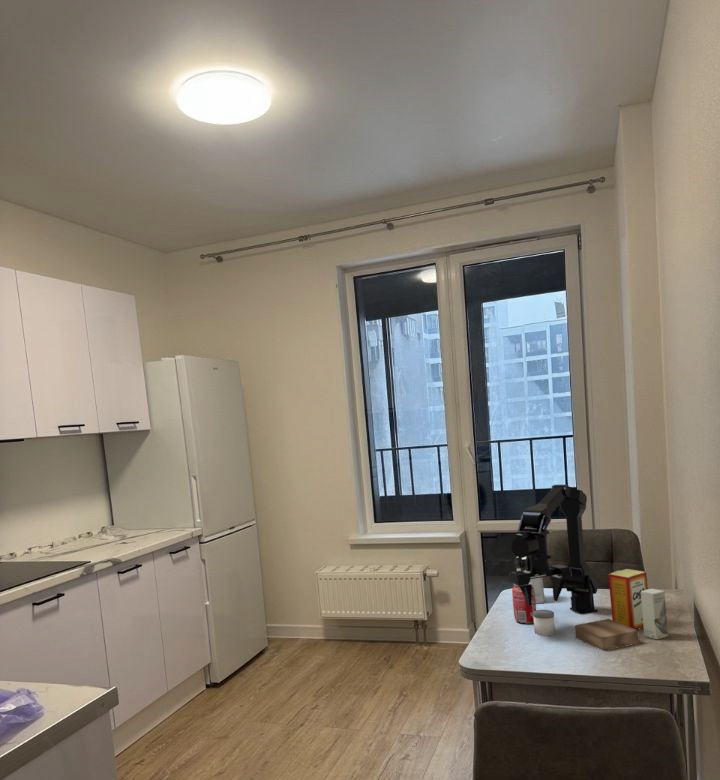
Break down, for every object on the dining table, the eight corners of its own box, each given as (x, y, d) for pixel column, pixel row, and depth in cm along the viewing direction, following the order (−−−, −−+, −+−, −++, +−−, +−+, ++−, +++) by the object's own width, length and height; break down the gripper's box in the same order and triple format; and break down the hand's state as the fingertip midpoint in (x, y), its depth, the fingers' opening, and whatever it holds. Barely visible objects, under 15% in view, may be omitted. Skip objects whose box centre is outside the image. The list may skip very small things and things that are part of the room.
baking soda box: (631, 619, 197) (626, 567, 198) (651, 624, 192) (646, 570, 193) (613, 626, 192) (608, 573, 193) (632, 631, 187) (627, 576, 188)
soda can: (535, 617, 205) (532, 580, 206) (539, 624, 198) (535, 585, 199) (513, 618, 206) (510, 581, 207) (516, 625, 199) (512, 586, 200)
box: (657, 640, 178) (652, 594, 179) (643, 636, 182) (639, 591, 183) (669, 636, 180) (665, 590, 181) (656, 632, 184) (651, 587, 185)
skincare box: (544, 598, 225) (541, 554, 226) (543, 604, 219) (540, 558, 220) (520, 598, 228) (517, 554, 229) (519, 603, 222) (515, 558, 223)
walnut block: (609, 632, 188) (608, 618, 188) (638, 644, 177) (637, 630, 177) (575, 639, 185) (574, 625, 185) (603, 652, 173) (601, 637, 173)
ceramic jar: (547, 628, 194) (546, 608, 195) (559, 634, 189) (558, 613, 189) (530, 631, 193) (528, 611, 193) (542, 637, 187) (540, 616, 187)
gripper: (548, 543, 203) (553, 592, 202) (497, 550, 197) (501, 601, 196) (570, 548, 192) (575, 601, 191) (516, 557, 186) (521, 610, 185)
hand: (542, 603), depth 191 cm, fingers open, 9 cm apart
